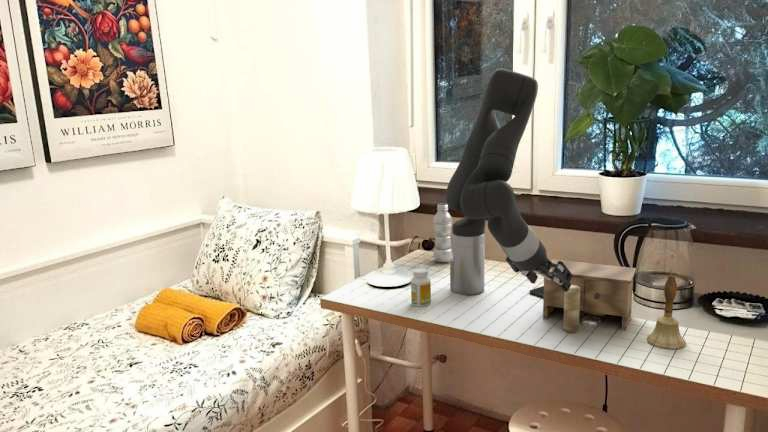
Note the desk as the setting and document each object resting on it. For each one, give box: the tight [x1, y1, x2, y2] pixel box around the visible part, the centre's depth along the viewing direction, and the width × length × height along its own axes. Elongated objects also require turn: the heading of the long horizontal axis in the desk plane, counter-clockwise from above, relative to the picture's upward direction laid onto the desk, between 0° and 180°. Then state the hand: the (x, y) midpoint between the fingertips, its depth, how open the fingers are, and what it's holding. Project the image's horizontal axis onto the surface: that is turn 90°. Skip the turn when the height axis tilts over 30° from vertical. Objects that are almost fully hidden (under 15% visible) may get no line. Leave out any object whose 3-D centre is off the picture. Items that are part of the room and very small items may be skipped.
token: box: [581, 315, 601, 327], centre depth 152 cm, size 4×4×1 cm
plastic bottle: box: [433, 202, 453, 263], centre depth 205 cm, size 6×7×20 cm
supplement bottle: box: [410, 268, 432, 308], centre depth 168 cm, size 5×5×10 cm
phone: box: [529, 285, 544, 300], centre depth 170 cm, size 8×1×15 cm
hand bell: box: [646, 274, 687, 350], centre depth 138 cm, size 8×8×16 cm
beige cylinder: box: [562, 285, 606, 334], centre depth 151 cm, size 10×15×11 cm, turn 152°
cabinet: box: [542, 258, 637, 331], centre depth 154 cm, size 21×12×13 cm, turn 62°
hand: (550, 284), depth 139 cm, fingers open, 8 cm apart
